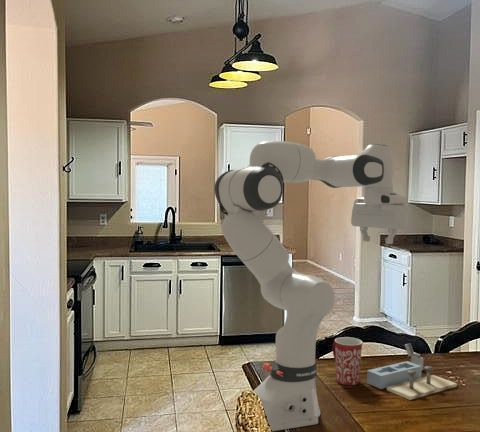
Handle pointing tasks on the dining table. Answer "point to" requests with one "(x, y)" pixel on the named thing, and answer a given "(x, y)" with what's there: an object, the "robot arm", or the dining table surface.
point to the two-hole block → (392, 374)
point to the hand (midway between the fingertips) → (377, 242)
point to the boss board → (421, 385)
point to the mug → (347, 360)
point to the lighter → (414, 355)
